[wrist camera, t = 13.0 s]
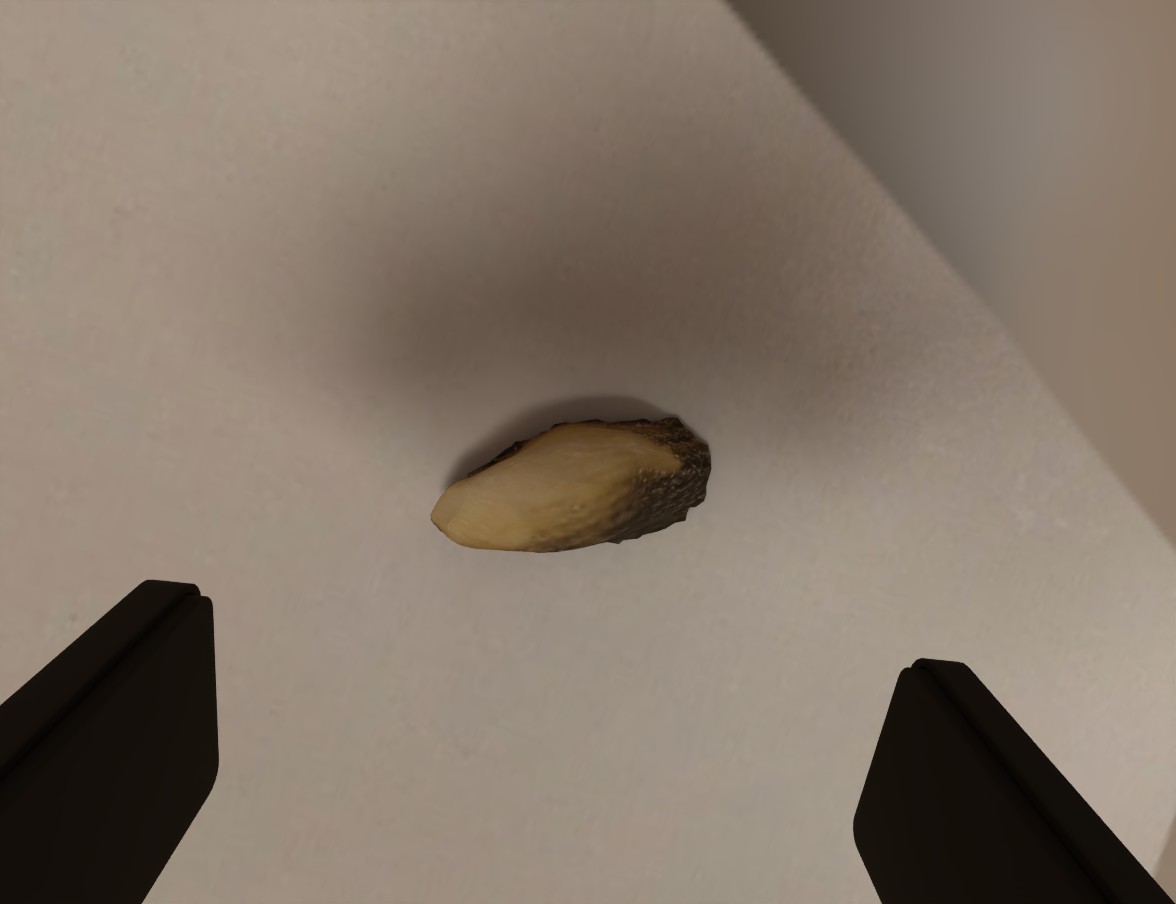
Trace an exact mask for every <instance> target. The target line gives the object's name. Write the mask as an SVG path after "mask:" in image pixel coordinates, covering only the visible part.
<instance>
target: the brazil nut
mask: <svg viewBox="0 0 1176 904" xmlns="http://www.w3.org/2000/svg"><path fill="white" fill-rule="evenodd" d="M710 472H711V459H710V453H709V448H708V445H706V444H703V443H702V442H700V441H698V440H696V439H695V437H694V436H693V434H692V432H690V431H689V430H687V429H686V428H685V427H684V425H683V424H682V423H681V422H680V421H679V419H678V418H666V419H663V420H661V421H649V420H646V419H640V420H634V421H620V422H614V423H607V422H604V421H601V420H598V419H594V420H588V421H582V422H576V423H567V422H565V423H559V424H554V425H553V426H552V427H551V429H550V431H545V432H541V433H540V434H538V435H537V436H536V437H535V438H533V439H530V440H524V441H518V442H515V443H514V444H513V445H512V446H511V447H509V448H508V449H506V450H504V451H503V452H502V453H501V454H499V455H498V456H497V457H496V458H494V459H493V460H492V461H490V462H489V463H487V464H485V465H484V466H482V467H480V468H478V469H476V470H475V471H473V472H471V473H469V474H468V478H466V479H463V480H460V481H458V482H456V483H454V484H452V485H451V486H450V487H449V488H447V489H446V491H445V492H444V494H443V495H442V496H441V497H440V498H439V500H438V501H437V503H436V505H435V507H434V509H433V511H432V512H431V514H430V515H431V520H432V522H433V523H434V524H435V525H436V526H437V527H438V529H439V530H440V531H442V532H443V533H444V534H445V535H446V536H447V537H448V538H450V539H451V540H452V541H454V542H455V543H457V544H459V545H462V546H466V547H470V548H476V549H490V550H505V551H524V552H537V553H545V552H559V551H567V550H573V549H579V548H584V547H588V546H592V545H595V544H600V543H604V542H610V543H616V544H619V543H621V542H622V541H623V540H627V539H637V538H639V537H641V536H642V535H644V534H649V533H653V532H657V531H660V530H662V529H665V528H667V527H669V526H670V525H672V524H673V523H675V522H681V521H685V520H686V515H687V512H688V509H689V508H690V507H696V506H698V505H699V504H700V503H702V502H703V501H704V499H705V496H706V485H707V481H708V478H709V475H710Z"/></svg>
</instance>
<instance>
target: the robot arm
mask: <svg viewBox="0 0 1176 904" xmlns="http://www.w3.org/2000/svg"><path fill="white" fill-rule="evenodd" d="M218 767H219V752H218V725H217V699H216V673H215V647H214V620H213V605H212V601H211V599H210V598H209V597H206V596H201V594H200V591H199V588H198V587H197V586H196V585H195V584H190V583H180V582H170V581H161V580H146V581H144V582H142V583H141V584H140V585H138V586H137V587H136V588H135V589H134V590H133V591H132V592H130V593H129V594H128V595H127V596H126V597H125V598H123V599H122V600H121V601H120V602H119V603H118V604H117V605H115V606H114V607H113V608H112V609H111V610H110V611H108V612H107V613H106V614H105V615H104V616H103V617H102V618H100V619H99V620H98V621H97V622H96V623H95V624H94V625H92V626H91V627H90V628H89V629H88V630H87V631H85V632H84V633H83V634H82V635H81V636H80V637H79V638H77V639H76V640H75V641H74V642H73V643H72V644H70V645H69V646H68V647H67V648H66V649H65V650H64V651H62V652H61V653H60V654H59V655H58V656H57V657H56V658H54V659H53V660H52V661H51V662H50V663H49V664H47V665H46V666H45V667H44V668H43V669H42V670H41V671H39V672H38V673H37V674H36V675H35V676H34V677H32V678H31V679H30V680H29V681H28V682H27V683H26V684H24V685H23V686H22V687H21V688H20V689H19V690H18V691H16V692H15V693H14V694H13V695H12V696H11V697H9V698H8V699H7V700H6V701H5V702H4V703H3V704H1V705H0V904H142V902H143V901H144V899H145V897H146V896H147V894H148V893H149V891H150V889H151V888H152V886H153V885H154V883H155V881H156V880H157V878H158V876H159V875H160V873H161V872H162V870H163V868H164V867H165V865H166V864H167V862H168V860H169V859H170V857H171V855H172V854H173V852H174V851H175V849H176V847H177V846H178V844H179V842H180V841H181V839H182V838H183V836H184V834H185V833H186V831H187V830H188V828H189V826H190V825H191V823H192V821H193V820H194V818H195V817H196V815H197V813H198V812H199V810H200V809H201V807H202V805H203V804H204V802H205V800H206V799H207V797H208V796H209V794H210V792H211V790H212V788H213V785H214V783H215V780H216V776H217V772H218ZM853 833H854V839H855V844H856V846H857V849H858V851H859V854H860V856H861V858H862V860H863V863H864V865H865V867H866V869H867V872H868V874H869V876H870V878H871V880H872V883H873V885H874V887H875V889H876V892H877V894H878V896H879V898H880V900H881V903H882V904H1175V903H1174V902H1173V901H1172V900H1171V898H1170V897H1169V896H1168V895H1167V894H1166V893H1165V892H1164V890H1163V889H1162V888H1161V887H1160V886H1159V885H1158V884H1157V882H1156V881H1155V880H1154V879H1153V878H1152V877H1151V876H1150V874H1149V873H1148V872H1147V871H1146V870H1145V869H1144V867H1143V866H1142V865H1141V864H1140V863H1139V862H1138V861H1137V859H1136V858H1135V857H1134V856H1133V855H1132V854H1131V853H1130V851H1129V850H1128V849H1127V848H1126V847H1125V846H1124V845H1123V843H1122V842H1121V841H1120V840H1119V839H1118V838H1117V837H1116V835H1115V834H1114V833H1113V832H1112V831H1111V830H1110V829H1109V827H1108V826H1107V825H1106V824H1105V823H1104V822H1103V820H1102V819H1101V818H1100V817H1099V816H1098V815H1097V814H1096V812H1095V811H1094V810H1093V809H1092V808H1091V807H1090V806H1089V804H1088V803H1087V802H1086V801H1085V800H1084V799H1083V798H1082V796H1081V795H1080V794H1079V793H1078V792H1077V791H1076V790H1075V788H1074V787H1073V786H1072V785H1071V784H1070V783H1069V782H1068V780H1067V779H1066V778H1065V777H1064V776H1063V775H1062V774H1061V772H1060V771H1059V770H1058V769H1057V768H1056V767H1055V765H1054V764H1053V763H1052V762H1051V761H1050V760H1049V759H1048V757H1047V756H1046V755H1045V754H1044V753H1043V752H1042V751H1041V749H1040V748H1039V747H1038V746H1037V745H1036V744H1035V743H1034V741H1033V740H1032V739H1031V738H1030V737H1029V736H1028V735H1027V733H1026V732H1025V731H1024V730H1023V729H1022V728H1021V727H1020V725H1019V724H1018V723H1017V722H1016V721H1015V720H1014V718H1013V717H1012V716H1011V715H1010V714H1009V713H1008V712H1007V710H1006V709H1005V708H1004V707H1003V706H1002V705H1001V704H1000V702H999V701H998V700H997V699H996V698H995V697H994V696H993V694H992V693H991V692H990V691H989V690H988V689H987V688H986V686H985V685H984V684H983V683H982V682H981V681H980V680H979V678H978V677H977V676H976V675H975V674H974V673H973V672H972V670H971V669H970V668H969V667H968V666H966V665H965V664H964V663H961V662H954V661H945V660H935V659H925V658H921V659H918V660H916V661H915V662H914V663H913V664H912V666H911V668H909V667H907V668H904V669H903V670H902V671H901V673H900V675H899V677H898V680H897V683H896V686H895V690H894V693H893V696H892V699H891V702H890V705H889V709H888V712H887V715H886V718H885V721H884V724H883V728H882V731H881V734H880V737H879V740H878V743H877V746H876V750H875V753H874V756H873V759H872V762H871V765H870V769H869V772H868V775H867V778H866V781H865V784H864V788H863V791H862V794H861V797H860V800H859V803H858V807H857V810H856V813H855V816H854V821H853Z"/></svg>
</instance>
